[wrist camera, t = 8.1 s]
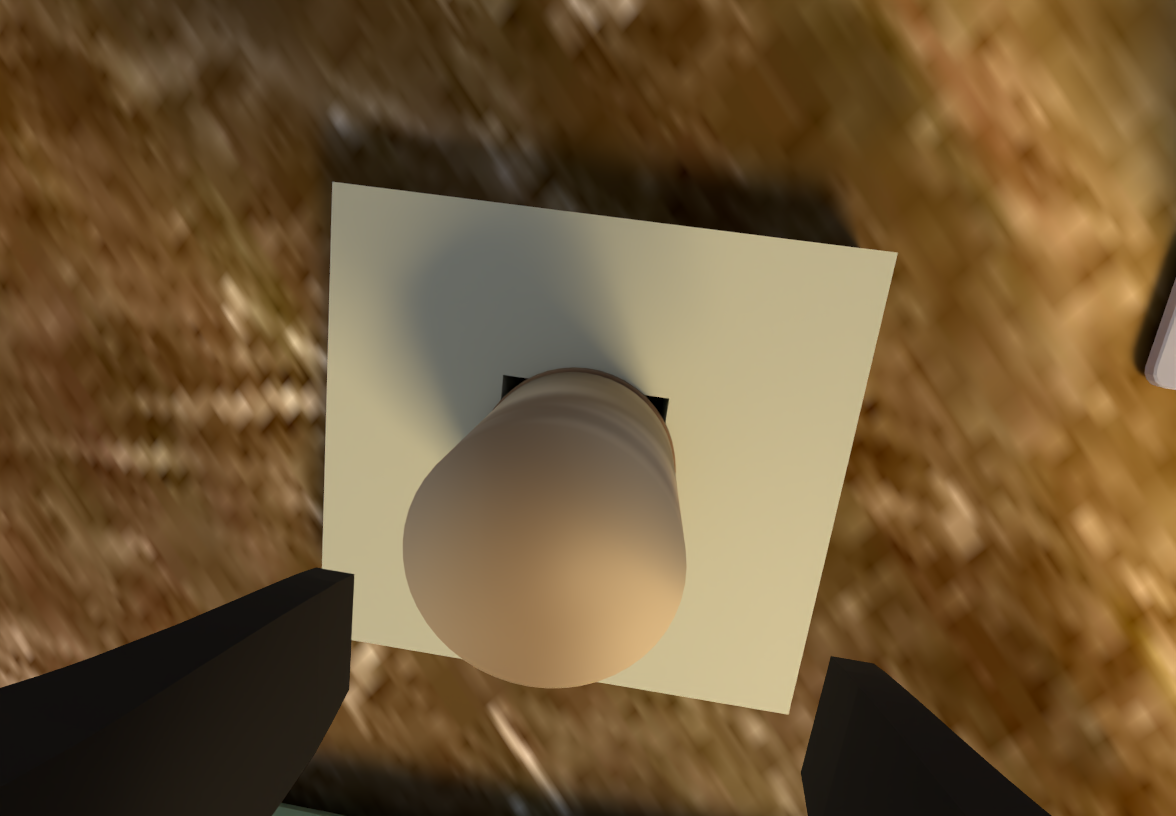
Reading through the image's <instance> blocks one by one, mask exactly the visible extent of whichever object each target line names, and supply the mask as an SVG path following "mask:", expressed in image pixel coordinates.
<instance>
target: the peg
mask: <svg viewBox="0 0 1176 816" xmlns="http://www.w3.org/2000/svg"><path fill="white" fill-rule="evenodd" d="M403 563H404V569H405V576H406V579H407V582H408V586H409V589H410V592H411V595H412V597H413V599H414V601H415V604H416V606H417V608H418V610H419V611H420V613H421V615H422V616H423V618H424V620H425V621H426V623H427V624H428V625H429V627H430V628H431V629H432V631H433V632H434V633H435V634H436V636H437V637H438V638H439V639H440V640H441V641H442V642H443V643H444V644H445V645H446V646H447V647H448V648H449V649H450V650H452V651H453V652H454V653H455V654H457V655H458V656H459V657H460V658H462V659H463V660H464V661H466V662H468V663H469V664H471V665H473V666H474V667H476V668H477V669H479V670H481V671H483V672H485V673H488V674H490V675H492V676H494V677H497V678H500V679H502V680H505V681H508V682H511V683H516V684H520V685H525V686H530V687H540V688H568V687H575V686H582V685H586V684H590V683H594V682H598V681H601V680H603V679H606V678H608V677H611V676H613V675H615V674H617V673H619V672H621V671H623V670H625V669H626V668H628V667H630V666H631V665H633V664H634V663H635V662H637V661H638V660H640V659H641V658H642V657H644V656H645V655H646V654H647V653H648V652H649V651H650V650H651V649H652V648H653V647H654V646H655V645H656V644H657V642H658V641H659V640H660V639H661V637H662V636H663V635H664V634H665V632H666V631H667V629H668V627H669V626H670V624H671V622H672V620H673V619H674V617H675V615H676V612H677V610H678V607H679V605H680V602H681V599H682V595H683V590H684V586H685V579H686V568H687V565H686V548H685V541H684V533H683V526H682V519H681V511H680V504H679V497H678V489H677V482H676V463H675V453H674V448H673V443H672V439H671V436H670V433H669V430H668V428H667V426H666V424H665V422H664V420H663V418H662V416H661V415H660V413H659V412H658V410H657V409H656V407H655V406H654V405H653V404H652V403H651V401H650V400H649V399H648V398H647V397H646V396H645V395H644V394H643V393H641V392H640V391H639V390H638V389H637V388H635V387H634V386H632V385H631V384H629V383H628V382H626V381H625V380H623V379H620V378H618V377H616V376H614V375H612V374H609V373H606V372H603V371H599V370H594V369H589V368H578V367H571V368H559V369H554V370H549V371H546V372H543V373H540V374H537V375H535V376H533V377H531V378H529V379H527V380H525V381H523V382H522V383H520V384H519V385H517V386H516V387H514V388H513V389H512V390H511V391H510V392H509V393H508V394H507V395H505V396H504V397H503V398H502V399H501V400H500V401H499V403H498V404H497V405H496V406H495V407H494V409H493V410H492V411H491V412H490V413H489V414H488V415H487V416H486V417H485V418H484V419H483V420H482V421H481V422H480V423H479V424H478V425H477V426H476V427H475V428H474V429H473V430H472V431H471V432H470V433H469V434H468V435H467V436H465V437H464V438H463V439H462V440H461V441H460V442H459V443H458V444H457V445H456V446H455V447H454V448H453V449H452V450H451V451H450V452H449V453H448V454H447V455H446V456H445V457H444V458H443V459H442V460H441V461H440V462H438V463H437V464H436V465H435V467H434V468H433V469H432V470H431V471H430V473H429V474H428V475H427V476H426V478H425V479H424V480H423V482H422V484H421V485H420V487H419V489H418V490H417V492H416V494H415V496H414V498H413V501H412V503H411V505H410V508H409V510H408V514H407V518H406V522H405V526H404V534H403Z"/></svg>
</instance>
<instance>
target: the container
mask: <svg viewBox="0 0 1176 816" xmlns="http://www.w3.org/2000/svg"><path fill="white" fill-rule="evenodd" d="M272 816H345V815H340V814H335V813H330V812H325V811H320V810H315V809H310V808H305V807H300V806H295V805H290V804H285V803H281V804H280V805H279V807H278V808H277V810H276V811H275V812H274V814H273V815H272Z"/></svg>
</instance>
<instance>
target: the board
mask: <svg viewBox="0 0 1176 816" xmlns="http://www.w3.org/2000/svg"><path fill="white" fill-rule="evenodd" d="M897 254H898V253H895V252H887V251H879V250H871V249H863V248H855V247H847V246H839V245H831V244H823V243H815V242H808V241H800V240H792V239H784V238H776V237H768V236H760V235H752V234H744V233H736V232H728V231H720V230H712V229H704V228H696V227H688V226H680V225H672V224H664V223H656V222H648V221H641V220H633V219H625V218H617V217H609V216H601V215H593V214H585V213H577V212H569V211H561V210H553V209H545V208H537V207H529V206H521V205H513V204H505V203H497V202H489V201H482V200H474V199H466V198H458V197H450V196H442V195H434V194H426V193H418V192H410V191H402V190H394V189H386V188H378V187H370V186H362V185H354V184H346V183H338V182H332V215H331V252H330V289H329V326H328V363H327V400H326V438H325V475H324V512H323V549H322V569H327V570H333V571H339V572H345V573H351V574H355V575H354V595H353V616H352V637H351V640H355V641H360V642H366V643H372V644H378V645H384V646H390V647H396V648H401V649H407V650H413V651H419V652H425V653H431V654H437V655H443V656H448V657H454V658H460V657H459V656H458V655H457V654H455V653H454V652H453V651H452V650H450V649H449V648H448V647H447V646H446V645H445V644H444V643H443V642H442V641H441V640H440V639H439V638H438V637H437V636H436V634H435V633H434V632H433V631H432V629H431V628H430V627H429V625H428V624H427V623H426V621H425V620H424V618H423V616H422V615H421V613H420V611H419V610H418V608H417V606H416V604H415V601H414V599H413V597H412V595H411V592H410V589H409V586H408V582H407V579H406V576H405V569H404V563H403V534H404V526H405V522H406V518H407V514H408V510H409V508H410V505H411V503H412V501H413V498H414V496H415V494H416V492H417V490H418V489H419V487H420V485H421V484H422V482H423V480H424V479H425V478H426V476H427V475H428V474H429V473H430V471H431V470H432V469H433V468H434V467H435V465H436V464H437V463H438V462H440V461H441V460H442V459H443V458H444V457H445V456H446V455H447V454H448V453H449V452H450V451H451V450H452V449H453V448H454V447H455V446H456V445H457V444H458V443H459V442H460V441H461V440H462V439H463V438H464V437H465V436H467V435H468V434H469V433H470V432H471V431H472V430H473V429H474V428H475V427H476V426H477V425H478V424H479V423H480V422H481V421H482V420H483V419H484V418H485V417H486V416H487V415H488V414H489V413H490V412H491V411H492V410H493V409H494V407H495V406H496V405H497V404H498V403H499V401H500V400H501V399H502V398H503V397H504V396H505V395H507V394H508V393H509V392H510V391H511V390H512V389H513V388H514V387H516V386H517V385H519V381H520V377H521V378H528V379H529V378H531V377H533V376H535V375H537V374H540V373H543V372H546V371H549V370H554V369H559V368H571V367H578V368H589V369H594V370H599V371H603V372H606V373H609V374H612V375H614V376H616V377H618V378H620V379H623V380H625V381H626V382H628V383H629V384H631V385H632V386H634V387H635V388H637V389H638V390H639V391H640V392H641V393H643V394H644V395H648V396H655V397H662V398H664V399H663V405H662V412H661V416H662V418H663V420H664V422H665V424H666V426H667V428H668V430H669V433H670V436H671V439H672V443H673V448H674V453H675V463H676V482H677V489H678V497H679V504H680V511H681V519H682V526H683V533H684V541H685V548H686V565H687V568H686V579H685V586H684V590H683V595H682V599H681V602H680V605H679V607H678V610H677V612H676V615H675V617H674V619H673V620H672V622H671V624H670V626H669V627H668V629H667V631H666V632H665V634H664V635H663V636H662V637H661V639H660V640H659V641H658V642H657V644H656V645H655V646H654V647H653V648H652V649H651V650H650V651H649V652H648V653H647V654H646V655H645V656H644V657H642V658H641V659H640V660H638V661H637V662H635V663H634V664H633V665H631V666H630V667H628V668H626V669H625V670H623V671H621V672H619V673H617V674H615V675H613V676H611V677H608V678H606V679H603V680H601V681H598V682H601V683H607V684H613V685H618V686H624V687H630V688H636V689H642V690H648V691H654V692H659V693H665V694H671V695H677V696H683V697H689V698H695V699H700V700H706V701H712V702H718V703H724V704H730V705H736V706H741V707H747V708H753V709H759V710H765V711H771V712H777V713H782V714H789V710H790V705H791V701H792V697H793V693H794V688H795V684H796V680H797V676H798V672H799V667H800V663H801V659H802V655H803V650H804V646H805V642H806V638H807V634H808V629H809V625H810V621H811V617H812V612H813V608H814V604H815V600H816V596H817V591H818V587H819V583H820V579H821V574H822V570H823V566H824V562H825V558H826V553H827V549H828V545H829V541H830V536H831V532H832V528H833V524H834V520H835V515H836V511H837V507H838V503H839V498H840V494H841V490H842V486H843V482H844V477H845V473H846V469H847V465H848V460H849V456H850V452H851V448H852V444H853V439H854V435H855V431H856V427H857V422H858V418H859V414H860V410H861V406H862V401H863V397H864V393H865V389H866V384H867V380H868V376H869V372H870V368H871V363H872V359H873V355H874V351H875V346H876V342H877V338H878V334H879V330H880V325H881V321H882V317H883V313H884V308H885V304H886V300H887V296H888V292H889V287H890V283H891V279H892V275H893V270H894V266H895V262H896V258H897ZM460 659H462V658H460Z"/></svg>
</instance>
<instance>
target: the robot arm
mask: <svg viewBox="0 0 1176 816" xmlns="http://www.w3.org/2000/svg"><path fill="white" fill-rule="evenodd" d="M1145 376H1146V379H1147V380H1148V381H1149V382H1150V383H1151V384H1152V385H1155V386H1158V387H1162V388H1167V389H1173V390H1176V279H1175V282H1174V285H1173V287H1172V290H1171V293H1170V296H1169V299H1168V302H1167V305H1166V308H1165V311H1164V314H1163V317H1162V320H1161V322H1160V325H1159V328H1158V331H1157V334H1156V337H1155V340H1154V343H1153V346H1152V349H1151V352H1150V355H1149V357H1148V360H1147V363H1146V366H1145ZM354 575H355V574H351V573H345V572H339V571H333V570H327V569H322V568H314V569H311V570H308V571H304V572H302V573H299V574H296V575H294V576H291V577H289V578H286V579H284V580H281V581H279V582H276V583H274V584H272V585H269V586H267V587H265V588H262V589H260V590H257V591H255V592H253V593H250V594H248V595H246V596H243V597H241V598H239V599H236V600H234V601H232V602H229V603H227V604H225V605H222V606H220V607H218V608H215V609H213V610H210V611H208V612H206V613H203V614H201V615H199V616H196V617H194V618H192V619H189V620H187V621H184V622H182V623H180V624H177V625H175V626H172V627H169V628H167V629H164V630H162V631H159V632H157V633H154V634H151V635H149V636H146V637H144V638H141V639H138V640H136V641H133V642H131V643H128V644H126V645H123V646H120V647H118V648H115V649H113V650H110V651H107V652H105V653H102V654H100V655H97V656H95V657H92V658H89V659H86V660H83V661H81V662H78V663H75V664H72V665H69V666H67V667H64V668H61V669H58V670H55V671H52V672H49V673H46V674H43V675H40V676H37V677H34V678H31V679H27V680H24V681H21V682H18V683H15V684H12V685H8V686H5V687H2V688H0V816H272V815H273V814H274V812H275V811H276V810H277V808H278V807H279V805H280V804H281V802H282V801H283V799H284V798H285V797H286V795H287V794H288V792H289V791H290V789H291V788H292V786H293V785H294V783H295V782H296V781H297V779H298V778H299V776H300V775H301V773H302V772H303V770H304V769H305V767H306V766H307V764H308V763H309V761H310V760H311V759H312V757H313V756H314V754H315V753H316V751H317V749H318V747H319V745H320V743H321V742H322V740H323V738H324V736H325V734H326V733H327V731H328V729H329V727H330V725H331V723H332V721H333V720H334V718H335V716H336V714H337V712H338V710H339V708H340V706H341V704H342V702H343V700H344V698H345V696H346V694H347V692H348V690H349V679H350V658H351V637H352V616H353V595H354ZM801 776H802V782H803V788H804V794H805V800H806V807H807V813H808V816H1051V815H1050V814H1049V813H1047V812H1046V811H1045V810H1044V809H1042V808H1041V807H1040V806H1039V805H1038V804H1036V803H1035V802H1034V801H1033V800H1032V799H1030V798H1029V797H1028V796H1027V795H1026V794H1025V793H1023V792H1022V791H1021V790H1020V789H1019V788H1017V787H1016V786H1015V785H1014V784H1013V783H1011V782H1010V781H1009V780H1008V779H1007V778H1006V777H1004V776H1003V775H1002V774H1001V773H1000V772H999V771H998V770H996V769H995V768H994V767H993V766H992V765H991V764H989V763H988V762H987V761H986V760H985V759H984V758H983V757H981V756H980V755H979V754H978V753H977V752H976V751H975V750H973V749H972V748H971V747H970V746H969V745H968V744H967V743H965V742H964V741H963V740H962V739H961V738H960V737H959V736H958V735H956V734H955V733H954V732H953V731H952V730H951V729H950V728H949V727H947V726H946V725H945V724H944V723H943V722H942V721H941V720H940V719H938V718H937V717H936V716H935V715H934V714H933V713H932V712H931V711H929V710H928V709H927V708H926V707H925V706H924V705H923V704H922V703H920V702H919V701H918V700H917V699H916V698H915V697H914V696H912V695H911V694H910V693H909V692H908V691H907V690H906V689H904V688H903V687H902V686H901V685H900V684H899V683H897V682H896V681H895V680H894V679H893V678H891V677H890V676H889V675H888V674H887V673H885V672H884V671H883V670H881V669H880V668H879V667H877V666H876V665H875V664H873V663H867V662H861V661H856V660H850V659H844V658H838V657H832V656H831V658H830V662H829V666H828V670H827V674H826V677H825V681H824V685H823V689H822V693H821V697H820V701H819V705H818V708H817V712H816V716H815V720H814V724H813V728H812V732H811V735H810V739H809V743H808V747H807V751H806V755H805V759H804V763H803V766H802V770H801Z"/></svg>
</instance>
